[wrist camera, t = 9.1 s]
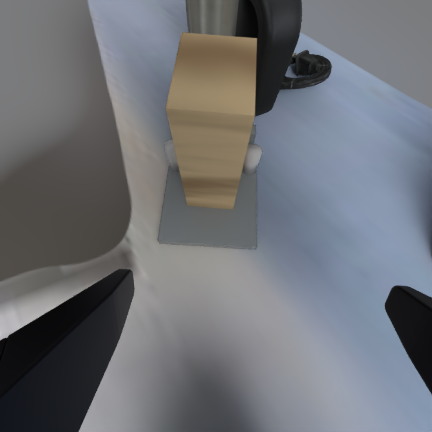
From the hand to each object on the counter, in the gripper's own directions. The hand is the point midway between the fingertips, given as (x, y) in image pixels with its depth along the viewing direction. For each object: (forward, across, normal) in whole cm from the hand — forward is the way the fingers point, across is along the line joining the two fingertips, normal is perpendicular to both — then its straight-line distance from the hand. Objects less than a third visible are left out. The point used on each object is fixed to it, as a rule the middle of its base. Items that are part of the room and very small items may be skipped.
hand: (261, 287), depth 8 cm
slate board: (+17, +2, +2) cm, 17 cm away
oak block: (+17, +2, +1) cm, 17 cm away
